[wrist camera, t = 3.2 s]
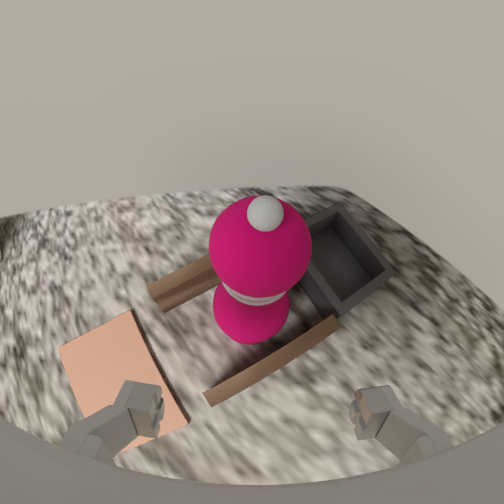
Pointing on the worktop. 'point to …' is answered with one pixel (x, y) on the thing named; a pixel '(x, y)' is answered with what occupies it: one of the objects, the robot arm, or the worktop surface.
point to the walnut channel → (204, 278)
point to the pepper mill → (257, 265)
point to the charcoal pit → (341, 263)
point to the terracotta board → (115, 370)
